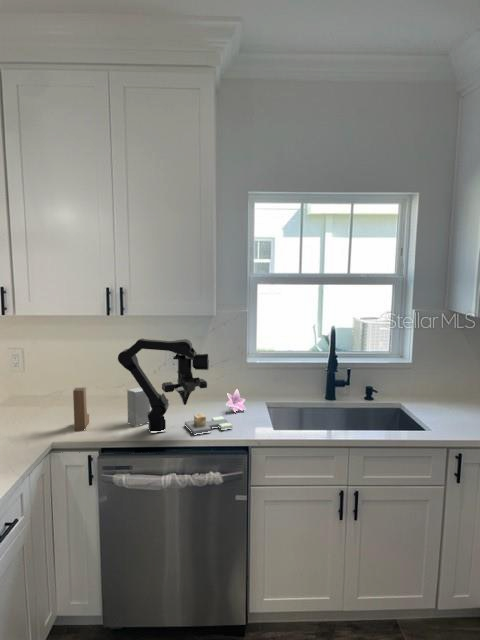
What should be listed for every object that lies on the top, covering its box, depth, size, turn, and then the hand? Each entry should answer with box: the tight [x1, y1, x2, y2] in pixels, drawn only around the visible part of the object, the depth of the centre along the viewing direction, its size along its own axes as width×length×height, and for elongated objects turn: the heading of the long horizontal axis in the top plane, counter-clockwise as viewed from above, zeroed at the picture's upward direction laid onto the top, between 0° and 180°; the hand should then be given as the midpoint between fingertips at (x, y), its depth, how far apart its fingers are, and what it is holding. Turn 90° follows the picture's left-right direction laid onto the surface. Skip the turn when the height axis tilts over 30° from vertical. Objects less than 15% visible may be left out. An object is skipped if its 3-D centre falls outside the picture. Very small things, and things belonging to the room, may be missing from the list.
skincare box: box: [126, 387, 151, 427], centre depth 197 cm, size 8×7×16 cm
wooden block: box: [72, 387, 90, 431], centre depth 191 cm, size 9×4×18 cm, turn 8°
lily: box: [225, 388, 247, 412], centre depth 216 cm, size 12×12×10 cm
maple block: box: [193, 413, 207, 427], centre depth 192 cm, size 4×4×4 cm
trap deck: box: [184, 415, 233, 435], centre depth 194 cm, size 18×12×2 cm, turn 115°
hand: (184, 404), depth 188 cm, fingers closed
